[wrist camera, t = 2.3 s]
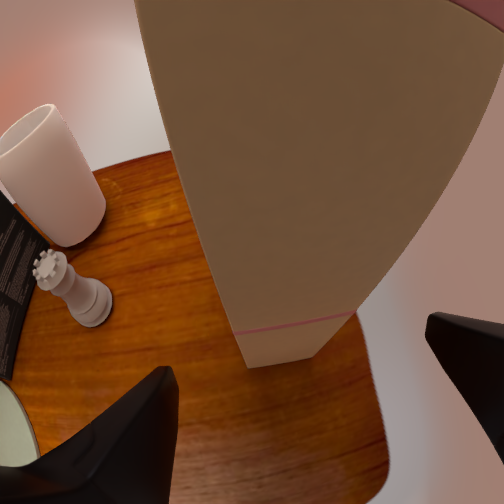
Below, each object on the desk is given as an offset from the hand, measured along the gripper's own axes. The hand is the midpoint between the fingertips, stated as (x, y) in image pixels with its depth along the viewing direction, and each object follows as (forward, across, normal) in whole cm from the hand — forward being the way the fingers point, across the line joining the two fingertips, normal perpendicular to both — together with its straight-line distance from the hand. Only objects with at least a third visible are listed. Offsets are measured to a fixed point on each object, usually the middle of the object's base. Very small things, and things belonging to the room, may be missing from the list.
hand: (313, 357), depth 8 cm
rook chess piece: (+15, +16, +3) cm, 22 cm away
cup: (+22, +20, -4) cm, 30 cm away
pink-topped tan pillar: (+12, 0, +6) cm, 13 cm away
